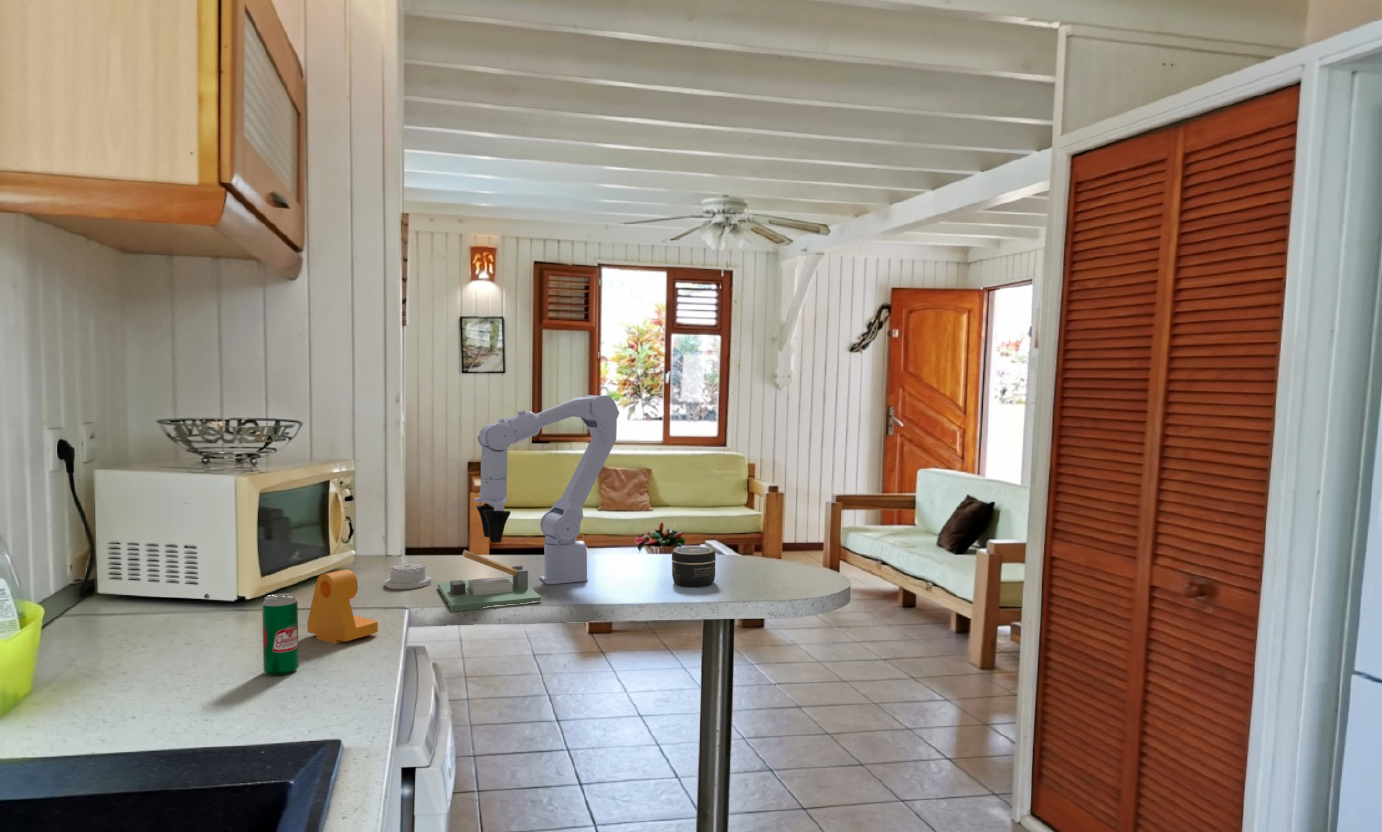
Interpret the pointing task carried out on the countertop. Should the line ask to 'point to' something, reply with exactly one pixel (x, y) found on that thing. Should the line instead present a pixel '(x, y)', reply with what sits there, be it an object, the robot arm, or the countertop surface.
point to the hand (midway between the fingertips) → (492, 539)
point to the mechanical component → (407, 577)
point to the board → (488, 591)
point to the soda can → (280, 634)
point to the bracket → (337, 609)
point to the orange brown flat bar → (490, 563)
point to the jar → (693, 566)
